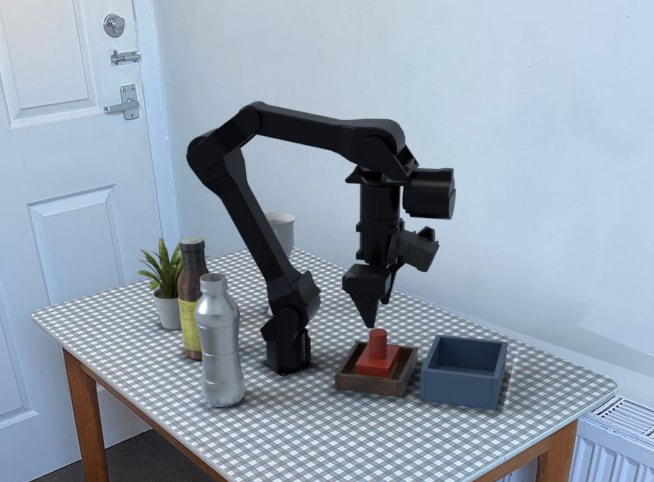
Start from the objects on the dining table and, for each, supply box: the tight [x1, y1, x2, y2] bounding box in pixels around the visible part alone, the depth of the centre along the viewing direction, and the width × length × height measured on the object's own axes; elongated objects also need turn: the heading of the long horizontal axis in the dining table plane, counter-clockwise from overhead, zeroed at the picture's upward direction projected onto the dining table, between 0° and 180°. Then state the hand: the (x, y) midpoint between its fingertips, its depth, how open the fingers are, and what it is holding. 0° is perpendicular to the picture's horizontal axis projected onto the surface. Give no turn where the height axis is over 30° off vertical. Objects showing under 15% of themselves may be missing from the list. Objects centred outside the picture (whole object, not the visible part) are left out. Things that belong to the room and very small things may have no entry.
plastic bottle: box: [194, 272, 247, 408], centre depth 115 cm, size 6×7×20 cm
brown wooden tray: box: [334, 340, 419, 399], centre depth 124 cm, size 10×12×3 cm
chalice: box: [264, 211, 296, 317], centre depth 145 cm, size 7×7×18 cm
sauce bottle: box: [177, 236, 210, 361], centre depth 130 cm, size 6×6×20 cm
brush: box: [355, 328, 399, 379], centre depth 123 cm, size 8×5×7 cm
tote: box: [419, 334, 509, 411], centre depth 120 cm, size 11×13×6 cm
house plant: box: [136, 237, 211, 330], centre depth 141 cm, size 14×14×16 cm
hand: (377, 315), depth 120 cm, fingers open, 9 cm apart
